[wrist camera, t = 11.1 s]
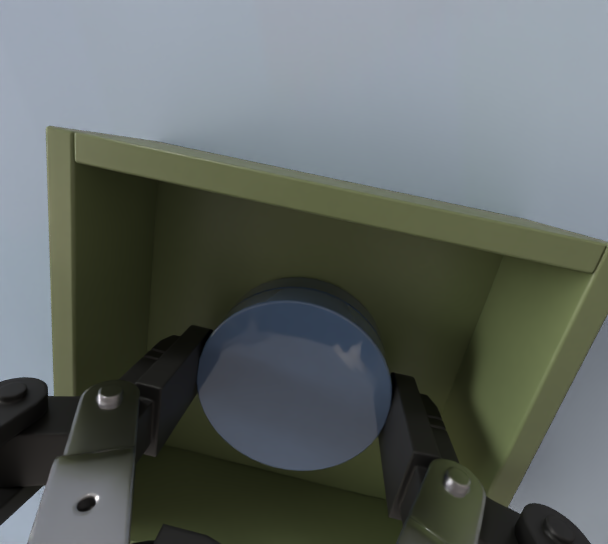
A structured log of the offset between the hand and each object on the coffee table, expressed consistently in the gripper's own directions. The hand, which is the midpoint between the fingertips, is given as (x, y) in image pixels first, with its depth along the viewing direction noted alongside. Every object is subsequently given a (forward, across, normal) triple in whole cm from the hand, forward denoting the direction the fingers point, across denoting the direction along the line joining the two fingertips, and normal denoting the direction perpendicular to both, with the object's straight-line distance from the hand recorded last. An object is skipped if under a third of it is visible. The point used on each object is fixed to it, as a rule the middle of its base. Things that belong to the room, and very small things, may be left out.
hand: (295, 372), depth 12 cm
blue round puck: (+1, 0, 0) cm, 1 cm away
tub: (+2, 0, 0) cm, 2 cm away
